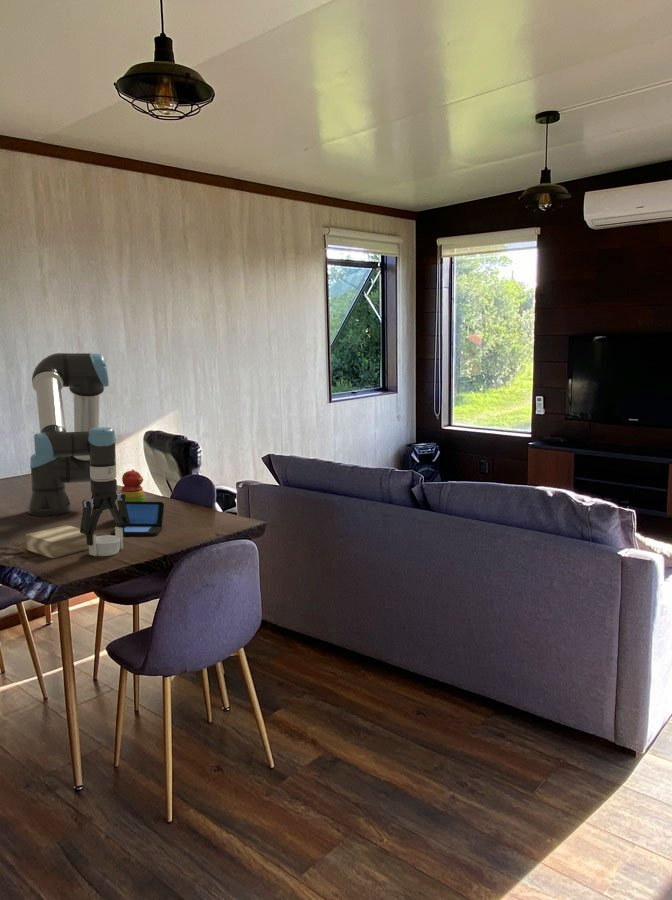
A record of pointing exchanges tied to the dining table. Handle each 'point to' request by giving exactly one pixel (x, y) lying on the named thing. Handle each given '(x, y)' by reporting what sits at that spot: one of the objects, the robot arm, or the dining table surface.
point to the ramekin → (107, 545)
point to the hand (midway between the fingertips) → (106, 551)
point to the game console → (143, 518)
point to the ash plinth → (57, 541)
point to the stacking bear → (132, 487)
